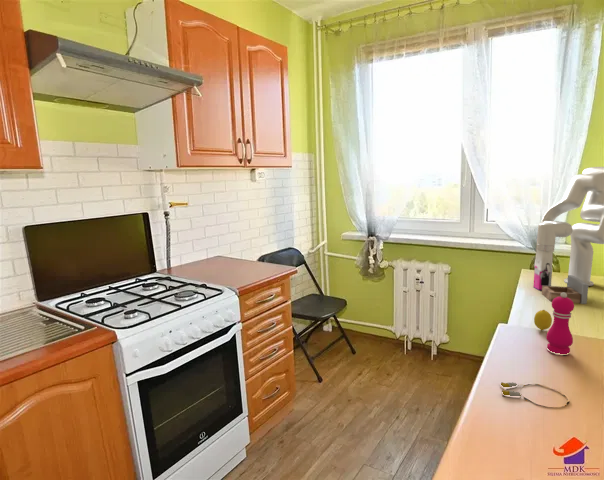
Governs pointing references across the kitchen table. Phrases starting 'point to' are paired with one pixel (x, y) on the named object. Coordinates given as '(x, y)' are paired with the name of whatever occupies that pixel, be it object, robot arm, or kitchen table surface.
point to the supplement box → (539, 279)
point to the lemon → (542, 320)
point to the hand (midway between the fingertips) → (542, 283)
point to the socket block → (555, 291)
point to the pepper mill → (560, 325)
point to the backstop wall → (578, 287)
